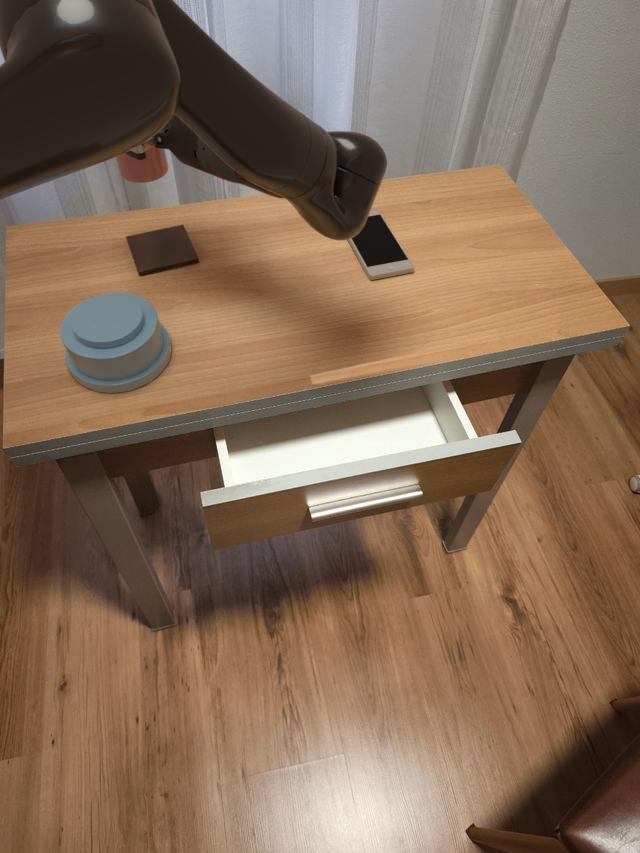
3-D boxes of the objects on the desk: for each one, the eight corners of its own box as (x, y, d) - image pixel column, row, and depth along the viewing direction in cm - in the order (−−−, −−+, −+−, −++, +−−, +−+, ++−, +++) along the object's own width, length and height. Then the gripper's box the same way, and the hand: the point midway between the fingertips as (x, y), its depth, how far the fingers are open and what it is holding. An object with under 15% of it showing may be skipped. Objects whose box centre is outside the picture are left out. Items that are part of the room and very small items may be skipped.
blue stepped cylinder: (77, 405, 69) (58, 369, 63) (62, 333, 76) (44, 295, 70) (182, 376, 72) (173, 339, 67) (158, 310, 79) (148, 271, 74)
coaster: (139, 276, 83) (138, 272, 82) (127, 240, 88) (125, 236, 87) (199, 262, 85) (198, 258, 84) (184, 228, 90) (183, 224, 89)
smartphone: (369, 280, 84) (370, 275, 83) (336, 220, 92) (337, 215, 91) (414, 272, 85) (415, 267, 84) (377, 213, 94) (378, 208, 93)
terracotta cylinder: (133, 188, 73) (111, 107, 65) (111, 166, 76) (88, 86, 68) (177, 172, 75) (161, 92, 67) (154, 152, 78) (137, 73, 70)
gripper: (256, 83, 66) (148, 48, 71) (173, 134, 58) (59, 91, 63) (260, 147, 72) (160, 110, 77) (185, 201, 64) (80, 156, 69)
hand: (115, 102), depth 70 cm, fingers closed on terracotta cylinder, 6 cm apart
